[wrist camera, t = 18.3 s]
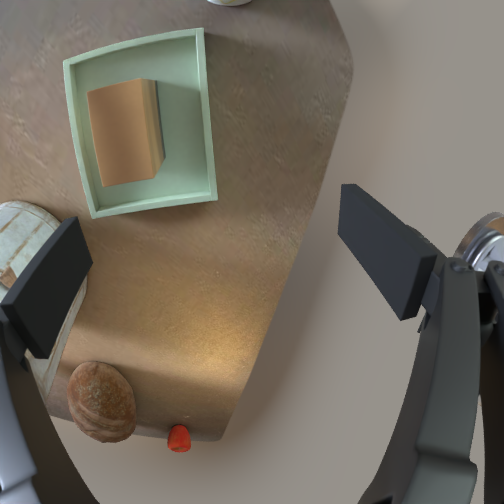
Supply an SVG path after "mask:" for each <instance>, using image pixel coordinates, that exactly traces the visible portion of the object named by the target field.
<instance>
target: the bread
mask: <svg viewBox="0 0 504 504" xmlns="http://www.w3.org/2000/svg"><path fill="white" fill-rule="evenodd" d="M67 398H68V405H69V409H70V412H71V415H72V417H73V420H74V422H75V423H76V425H77V426H78V427H79V428H80V429H81V431H83V432H84V433H85V434H87V435H89V436H90V437H92V438H93V439H96V440H98V441H100V442H102V443H106V442H113V443H116V442H120V441H123V440H125V439H127V438H128V437H129V436H131V434H132V433H133V432H134V430H135V427H136V403H135V399H134V395H133V391H132V388H131V386H130V384H129V383H128V381H127V380H126V379H125V378H124V377H123V376H122V375H121V374H120V373H119V372H118V371H117V370H116V369H115V368H113V367H112V366H110V365H108V364H105V363H102V362H97V361H90V362H85V363H82V364H80V365H79V366H78V367H77V368H76V369H75V370H74V372H73V373H72V375H71V377H70V379H69V382H68V387H67Z"/></svg>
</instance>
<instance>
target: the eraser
mask: <svg viewBox="0 0 504 504" xmlns="http://www.w3.org/2000/svg"><path fill="white" fill-rule="evenodd" d="M87 100H88V108H89V115H90V122H91V129H92V135H93V141H94V146H95V152H96V157H97V162H98V167H99V171H100V176H101V181H102V185H103V187H108V186H113V185H119V184H124V183H130V182H135V181H141V180H147V179H153V178H155V176H156V174H157V172H158V170H159V168H160V167H161V165H162V163H163V161H164V159H165V158H166V155H165V147H164V140H163V132H162V124H161V115H160V106H159V96H158V86H157V80H151V79H144V78H138V79H134V80H129V81H125V82H121V83H116V84H112V85H109V86H105V87H101V88H98V89H94V90H91V91H87Z"/></svg>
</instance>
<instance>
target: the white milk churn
mask: <svg viewBox="0 0 504 504" xmlns="http://www.w3.org/2000/svg"><path fill="white" fill-rule="evenodd" d="M60 224H61V223H60V222H59V221H58V220H57V219H56V218H55V217H54V216H52V215H51V214H50V213H48V212H47V211H45V210H44V209H42V208H40V207H38V206H36V205H34V204H31V203H28V202H24V201H8V202H5V203H2V204H0V303H1V301H2V300H3V298H4V297H5V295H6V294H7V292H8V291H9V289H10V288H11V286H12V285H13V284H14V282H15V281H16V279H17V278H18V277H19V275H20V274H21V272H22V271H23V270H24V268H25V267H26V266H27V264H28V263H29V262H30V261H31V259H32V258H33V257H34V255H35V254H36V253H37V252H38V250H39V249H40V248H41V247H42V245H43V244H44V243H45V242H46V241H47V239H48V238H49V237H50V236H51V235H52V233H53V232H54V231H55V230H56V229H57V228H58V227H59V225H60ZM86 291H87V275H86V277H85V279H84V281H83V283H82V285H81V287H80V289H79V291H78V293H77V295H76V297H75V299H74V301H73V303H72V306H71V308H70V310H69V312H68V314H67V316H66V319H65V321H64V323H63V325H62V328H61V330H60V332H59V335H58V337H57V340H56V342H55V344H54V347H53V349H52V352H51V355H50V357H49V359H35V358H34V356H33V355H32V354H31V352H30V351H29V350H28V348H27V350H26V352H25V356H26V357H27V359H28V360H29V363H30V366H31V369H32V372H33V375H34V378H35V381H36V383H37V386H38V389H39V392H40V394H41V397H42V399H43V402H44V404H45V407H46V403H47V399H48V396H49V394H50V391H51V388H52V384H53V381H54V378H55V375H56V371H57V368H58V365H59V362H60V359H61V356H62V353H63V350H64V347H65V345H66V342H67V339H68V336H69V334H70V331H71V328H72V326H73V323H74V321H75V318H76V316H77V313H78V311H79V308H80V306H81V304H82V302H83V300H84V298H85V295H86Z"/></svg>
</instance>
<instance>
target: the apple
mask: <svg viewBox="0 0 504 504" xmlns="http://www.w3.org/2000/svg"><path fill="white" fill-rule="evenodd" d="M190 447H191V440H190V435H189V433H188V430H187V429H186V427H184V426H182V425H176V426H174V427H173V428H172V429H171V431H170V433H169V436H168V448H169V449H171V450H172V451H175V452H186V451H188V450H189V449H190Z"/></svg>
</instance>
